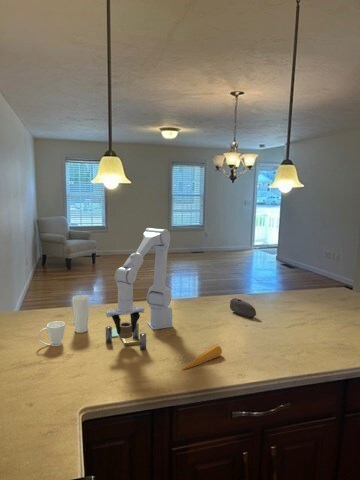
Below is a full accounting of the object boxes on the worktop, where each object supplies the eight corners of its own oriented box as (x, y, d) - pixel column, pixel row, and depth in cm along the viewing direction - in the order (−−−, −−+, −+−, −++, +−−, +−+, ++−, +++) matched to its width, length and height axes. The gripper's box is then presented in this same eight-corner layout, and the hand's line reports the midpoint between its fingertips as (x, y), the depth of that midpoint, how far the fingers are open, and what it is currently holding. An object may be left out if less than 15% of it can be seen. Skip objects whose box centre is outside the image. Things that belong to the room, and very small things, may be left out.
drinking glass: (85, 334, 149) (84, 300, 147) (70, 333, 150) (69, 298, 148) (92, 328, 156) (91, 295, 153) (77, 327, 157) (77, 294, 155)
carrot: (217, 355, 135) (213, 343, 136) (225, 354, 132) (221, 342, 132) (177, 377, 123) (173, 364, 123) (185, 378, 119) (181, 364, 120)
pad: (125, 328, 157) (125, 327, 157) (130, 335, 150) (130, 333, 150) (107, 330, 154) (107, 329, 154) (110, 337, 147) (110, 336, 147)
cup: (67, 345, 139) (67, 325, 138) (40, 350, 134) (39, 330, 133) (63, 338, 145) (63, 319, 144) (37, 343, 140) (36, 324, 139)
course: (137, 335, 150) (137, 321, 149) (147, 349, 136) (147, 335, 135) (104, 339, 145) (104, 325, 144) (111, 355, 131) (111, 340, 130)
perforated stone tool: (258, 318, 172) (259, 304, 171) (251, 320, 169) (252, 306, 168) (235, 309, 184) (236, 296, 183) (228, 311, 181) (229, 298, 180)
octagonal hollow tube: (129, 332, 143) (129, 321, 142) (133, 337, 138) (133, 326, 137) (117, 334, 141) (117, 323, 140) (121, 339, 136) (121, 327, 135)
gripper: (109, 303, 131) (109, 339, 133) (146, 299, 137) (146, 333, 139) (104, 298, 137) (105, 332, 139) (140, 294, 143) (140, 326, 145)
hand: (125, 332), depth 139 cm, fingers closed on octagonal hollow tube, 5 cm apart
